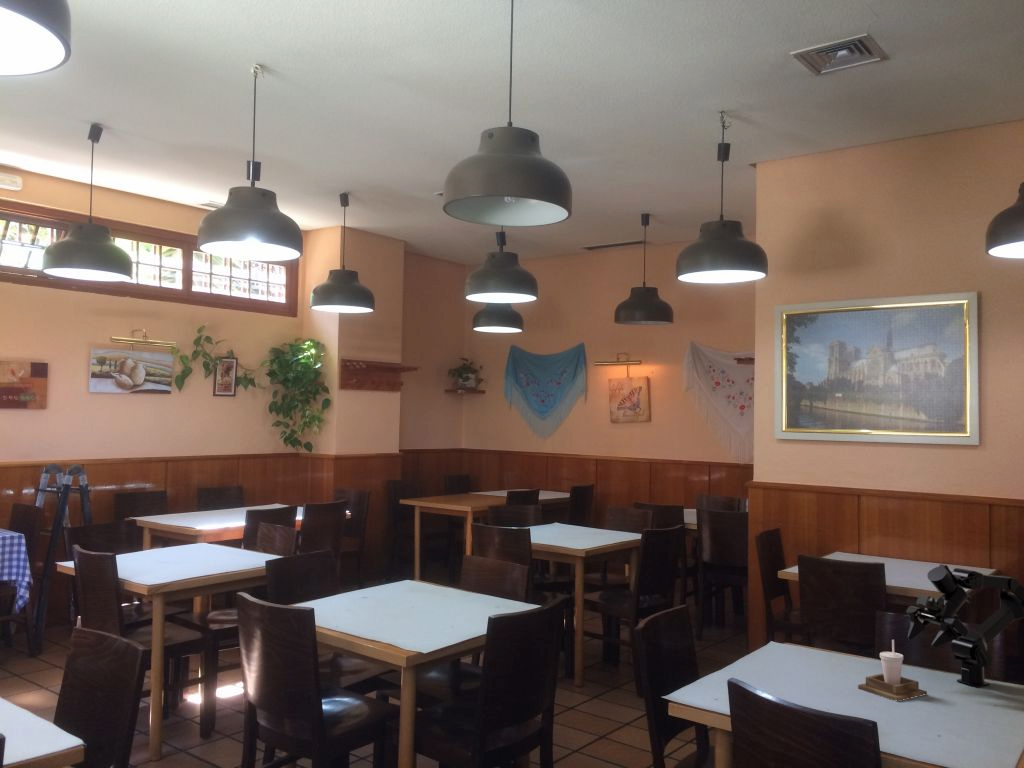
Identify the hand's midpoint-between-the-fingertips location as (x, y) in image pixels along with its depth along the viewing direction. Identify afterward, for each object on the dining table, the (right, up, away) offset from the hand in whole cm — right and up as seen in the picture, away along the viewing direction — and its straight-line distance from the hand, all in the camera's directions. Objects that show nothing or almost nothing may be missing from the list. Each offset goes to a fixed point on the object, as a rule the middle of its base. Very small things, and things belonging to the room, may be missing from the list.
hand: (920, 642), depth 233 cm
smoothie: (-10, -13, -3) cm, 16 cm away
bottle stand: (-10, -13, -3) cm, 17 cm away
